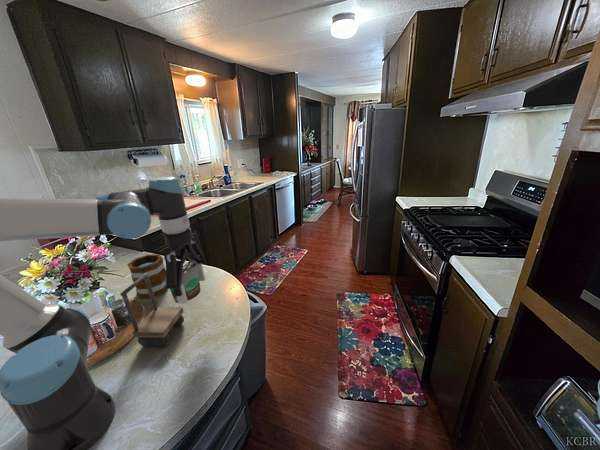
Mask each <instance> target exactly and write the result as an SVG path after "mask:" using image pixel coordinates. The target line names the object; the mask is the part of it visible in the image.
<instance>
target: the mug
mask: <svg viewBox="0 0 600 450" xmlns="http://www.w3.org/2000/svg"><path fill="white" fill-rule="evenodd" d="M127 267H128V269H129V271H130V275H131V279H132V282H133V283H134V282H135V281H136V280H138V279H139V278H140V277H141V276H143V275H144V274H145V273H148V278H149V281H150V285H151V288H152V291H153V295H154V298H157V297H158V296H160V295H164V294H165V293H166V292H167V291H168V290H169V289H167V286H166V284H165V277H166V266H165V263H164V257H162V255H161V254H160V253H158V254H157V253H156V254H154V253H153V252H150V253H147V254H145V255H142V256H139V257H135V258H134V259H132V260H131V261H130V262H129V263H127ZM134 288H135V291H136V295H137V297H138V298H139V300H147V299H149V300H151V299H150V296H149V292H148V289H147V286H146V283H145V279H144V280H142V281H141V282H140V283H139V284H138V285H136V286H135V287H134Z"/></svg>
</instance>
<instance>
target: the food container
mask: <svg viewBox="0 0 600 450" xmlns="http://www.w3.org/2000/svg"><path fill="white" fill-rule="evenodd" d="M199 269H200V268H199V265H198V263H197V262H196V261H195V260H191V259H190V258H188V262H187V263H186V264H185V265H184V264H183V270H182V279H181V284H183V285H184V289H185V293H186V296H187V300H188V302H189V301H191V300H192V299H195V298H196V297H197V296H199V294H200V293H201V284H200V282H201V281H199V275H198V271H199ZM165 284H166V277H165ZM169 291H170V293H171V296H172V298H173V300H174V302H175V303H176V304H179V303H178V300H177V297H176V296H175V292H174V289H169Z"/></svg>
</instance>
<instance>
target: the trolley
mask: <svg viewBox="0 0 600 450" xmlns="http://www.w3.org/2000/svg"><path fill="white" fill-rule="evenodd" d="M144 279H145V283H146V286H147V289H148V292H149V296H150V299H149V300H150V302H151V304H152V307H153V310H152V311H151V312H149V314H147V316H146V317H145V318H144V319H143V320H142V321H141V323H140V324H139V325H138V322H137V320H136V317H135V315H134V311H133V308H132V306H131V302H130V300H129V296H128V293H130V292H131V291H132V290H133V289H134V288H136V287H135V286H136V285H138V284H139V283H140V282H141V281H142V280H144ZM119 294H120V296H121V297H122V300H123V303H124V306H125V308H126V309H125V310H126V312H127V314H128V317H129V320H130V322H131V326H132V327H133V331H132V334H133V338H137V343H138V344H139V345H140V346H142V347H144V348H151V347H152V346H153V345H154V346H156V347H157V348H160V349H163V348H166V347H167V346H168V345H169V343H170V342H171V337H170V335H169V334H168V333H169V332H170V331H171V329H173V327H174V328H180V327H181V326H182V325H183V323H184V321H185V318H184V316H183V313H184V308H183V307H182V306H181V307H180V306H176V307H175V306H172V307H171V306H164V307H163V306H157V302H156V299H155V298H156V297H154V295H153V291H152V288H151V285H150V281H149V278H148V273H145V274H144V275H143V276H141V277H140V278H139V279H138V280H136V281H135V282H133V283H131V284H130V285H129V286H128V287H127V288H125V289H124V290H123V291H122V292H120V293H119Z"/></svg>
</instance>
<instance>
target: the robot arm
mask: <svg viewBox="0 0 600 450" xmlns="http://www.w3.org/2000/svg"><path fill="white" fill-rule="evenodd" d="M154 215H157V216H158V221H159V224H160V228H161V231H162V233H163V234H162V235H163V238H164V241H165V245H166V246H168V247H170V253H169V254H164V256H163V260H164V261H165V270H166V286H167V289H168V290H170V289H174V292H175V296H176V297H177V300H178V303H177V304H188V302H189V301H188V300H187V296H186V293H185V289H184V285H183V284H181V279H182V270H183V266H184V264H185V263H186V259H187V257H188V259H191V260H195V261H196V262H197V263H198V265H199V268H200V269H199V271H198V275H199V282H205V281H206V277H205V276H206V275H205V272H204V267H203V264H204V263H205V255H204V253H203V251H202V249H201V247H200V245H199V243H198V241H197V237H196V236H193V232H192V229H191V228H192V227H190V225H191V224H190V219H189V217H188V212H187V208H186V203H185V198H184V194H183V191H182V187H181V184H180V181H179V179H178V177H175V176H160V177H155V178H151V179H149V180H148V186H147V187H145V188H138V189H131V190H124V191H118V192H117V191H116V192H110V193H106V194H100V195H98V196H97V197H96V198H94V199H93V198H91V199H86V198H85V199H84V198H82V199H81V198H80V199H79V198H78V199H75V198H74V199H73V198H0V242H10V241H11V242H12V241H14V242H15V241H26V240H27V241H28V240H30V241H31V240H43V239H45V240H46V239H60V238H61V239H62V238H63V239H64V238H74V237H75V238H77V237H80V238H81V237H95V236H97V237H98V236H111V235H112V236H113V235H114V236H116V237H118V238H122V239H125V240H126V239H127V240H131V239H132V240H133V239H137V238H139V237H142V236H144V235H145V234H146V233H148V231H149V229H150V228H151V224H152V216H154ZM91 331H92V326H91V321H90V318H89V316H88V314H87V313H86V312H85V311H83V310H82V309H79V308H76V307H73V306H69V307H65V306H62V305H61V304H59V303H57V302H54V303H44V302H43V301H41V300H40V299H38V298H36V296H33V295H32V294H30V293H29V292H28V291H26V290H24V289H23V288H21V287H20V286H18V285H16V284H15V283H14V282H12V281H11V280H10V279H7V278H6V277H5V276H3V275H2V274H0V336H2V337H3V340H2V347H3V348H5V349H7V350H8V351H10V352H12V353H14V355H12V356H11V355H10V357H9V358H8V359H7V360H6V361H5V363H3V365H2V366H1V368H0V396H1V397H2V398H3V399H4V401H6V402H7V404H8V406H9V407H10V408H11V409H12V411H13V413H14V414H15V415H16V417H17V418H18V420H19V421H20V422H21V424H22V426H23V427H24V428H25V430H26V431H27V450H89V449H90V448H92V447H93V446H94V445H95V444H96V443H97V442H98V441H99V439H100V438H101V437H102V436H104V434H105V432H106V431H107V429H108V428H109V427H110V425H111V423H112V421H113V419H114V416H115V413H116V404H115V402H114V399H113V397H112V396H111V395H110V394H109V393H108V392H107V391H105V390H104V389H102V388H100V387H98V386H97V385H96V384H95V382H94V380H93V378H92V375H91V374H90V371H89V369H88V366H87V365H88V364H87V361H88V360H87V359H88V351H89V345H90V337H91V334H92V333H91Z"/></svg>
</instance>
